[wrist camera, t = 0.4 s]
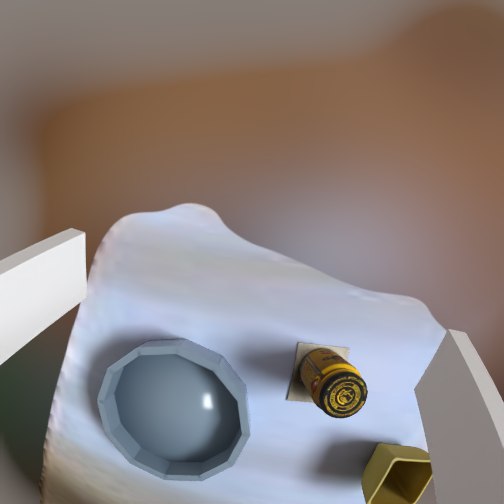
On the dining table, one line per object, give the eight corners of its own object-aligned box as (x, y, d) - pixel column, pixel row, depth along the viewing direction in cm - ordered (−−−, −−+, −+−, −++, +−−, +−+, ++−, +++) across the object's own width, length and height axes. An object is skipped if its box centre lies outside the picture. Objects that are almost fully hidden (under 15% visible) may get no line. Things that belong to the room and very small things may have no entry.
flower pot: (349, 475, 39) (365, 506, 30) (371, 431, 40) (394, 458, 31) (393, 479, 39) (414, 506, 30) (415, 436, 40) (442, 460, 31)
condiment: (349, 347, 41) (382, 368, 29) (336, 403, 41) (363, 440, 29) (298, 341, 41) (315, 363, 30) (287, 399, 41) (299, 437, 29)
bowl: (255, 460, 40) (256, 478, 35) (128, 460, 39) (118, 475, 34) (240, 334, 41) (238, 341, 36) (102, 342, 41) (86, 348, 36)
